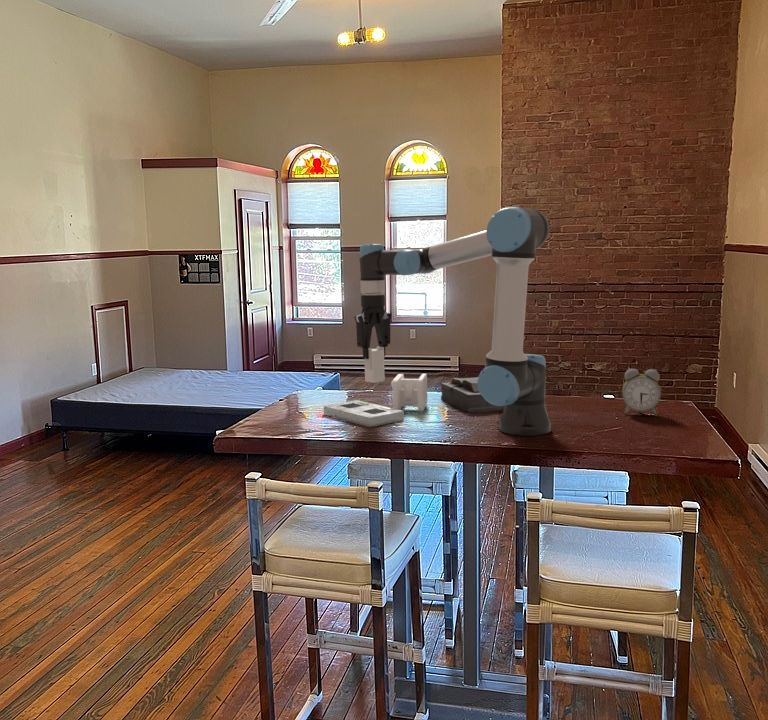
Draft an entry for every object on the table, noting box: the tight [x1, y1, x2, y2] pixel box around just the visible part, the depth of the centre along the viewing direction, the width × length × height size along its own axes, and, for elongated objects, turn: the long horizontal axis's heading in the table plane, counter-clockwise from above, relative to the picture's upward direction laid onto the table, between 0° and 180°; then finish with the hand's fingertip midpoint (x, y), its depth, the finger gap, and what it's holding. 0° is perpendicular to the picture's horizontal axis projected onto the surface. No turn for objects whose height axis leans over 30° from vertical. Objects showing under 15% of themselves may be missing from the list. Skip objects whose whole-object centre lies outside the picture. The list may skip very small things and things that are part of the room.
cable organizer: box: [390, 373, 428, 413], centre depth 248 cm, size 15×11×12 cm
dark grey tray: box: [440, 376, 505, 414], centre depth 256 cm, size 23×27×10 cm
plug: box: [364, 348, 386, 384], centre depth 231 cm, size 6×4×10 cm
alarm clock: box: [621, 368, 662, 417], centre depth 235 cm, size 12×7×15 cm, turn 72°
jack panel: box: [323, 399, 405, 428], centre depth 238 cm, size 24×14×3 cm, turn 41°
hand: (374, 367), depth 231 cm, fingers closed on plug, 4 cm apart
